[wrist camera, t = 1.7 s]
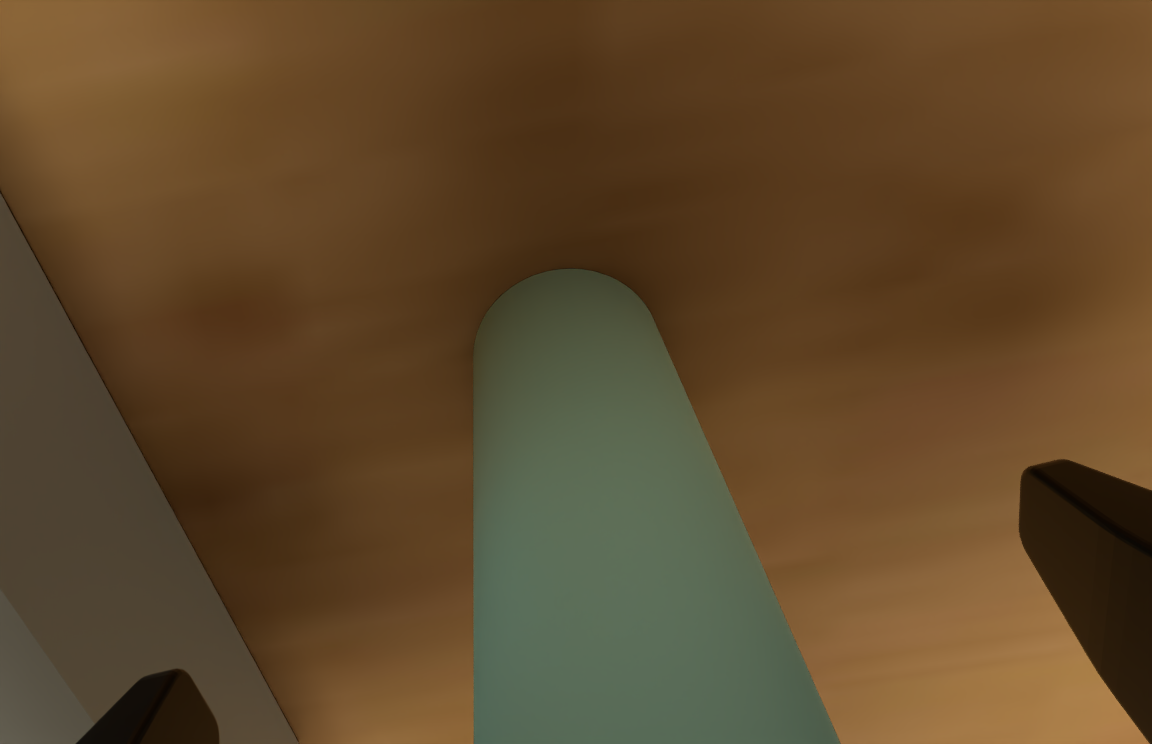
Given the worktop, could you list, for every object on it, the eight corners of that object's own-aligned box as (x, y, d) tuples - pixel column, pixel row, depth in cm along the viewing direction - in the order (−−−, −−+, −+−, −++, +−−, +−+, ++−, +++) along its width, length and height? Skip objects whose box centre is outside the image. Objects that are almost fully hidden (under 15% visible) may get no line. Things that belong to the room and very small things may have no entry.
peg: (499, 453, 15) (538, 1244, 6) (450, 294, 13) (410, 1024, 5) (672, 412, 15) (964, 1147, 6) (642, 248, 13) (966, 896, 5)
